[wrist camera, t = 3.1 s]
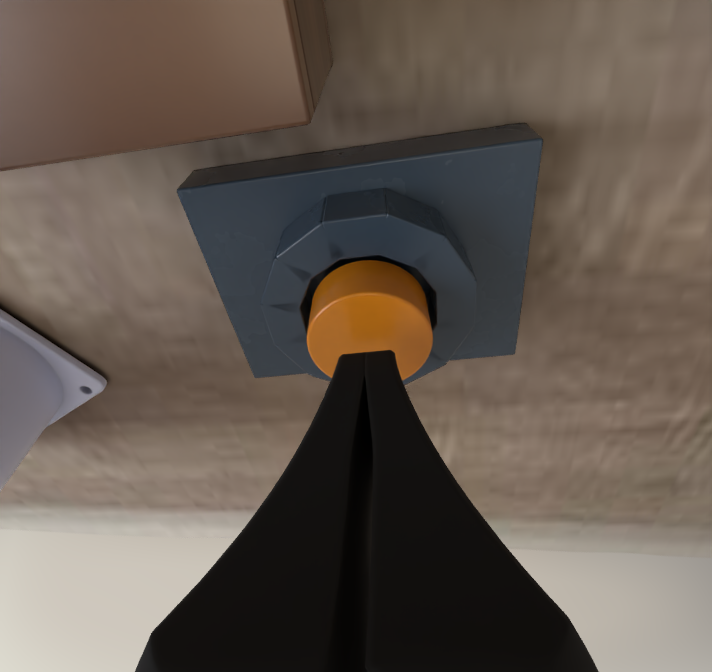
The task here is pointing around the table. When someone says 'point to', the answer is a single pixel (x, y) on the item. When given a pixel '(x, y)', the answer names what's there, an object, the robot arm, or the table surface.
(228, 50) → the lid
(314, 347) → the button
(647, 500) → the table surface
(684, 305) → the table surface
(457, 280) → the block
